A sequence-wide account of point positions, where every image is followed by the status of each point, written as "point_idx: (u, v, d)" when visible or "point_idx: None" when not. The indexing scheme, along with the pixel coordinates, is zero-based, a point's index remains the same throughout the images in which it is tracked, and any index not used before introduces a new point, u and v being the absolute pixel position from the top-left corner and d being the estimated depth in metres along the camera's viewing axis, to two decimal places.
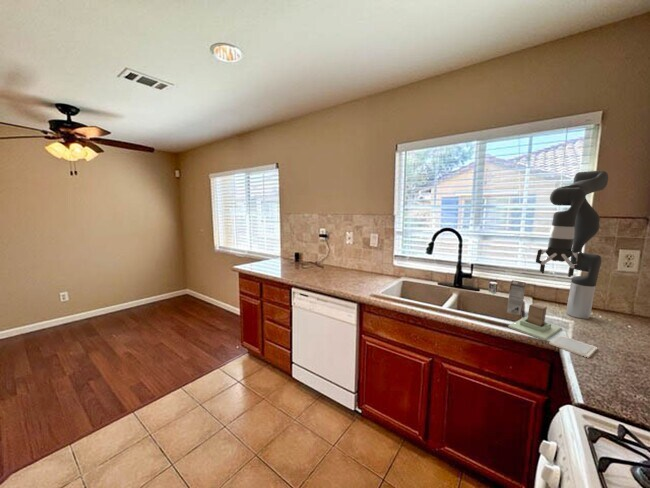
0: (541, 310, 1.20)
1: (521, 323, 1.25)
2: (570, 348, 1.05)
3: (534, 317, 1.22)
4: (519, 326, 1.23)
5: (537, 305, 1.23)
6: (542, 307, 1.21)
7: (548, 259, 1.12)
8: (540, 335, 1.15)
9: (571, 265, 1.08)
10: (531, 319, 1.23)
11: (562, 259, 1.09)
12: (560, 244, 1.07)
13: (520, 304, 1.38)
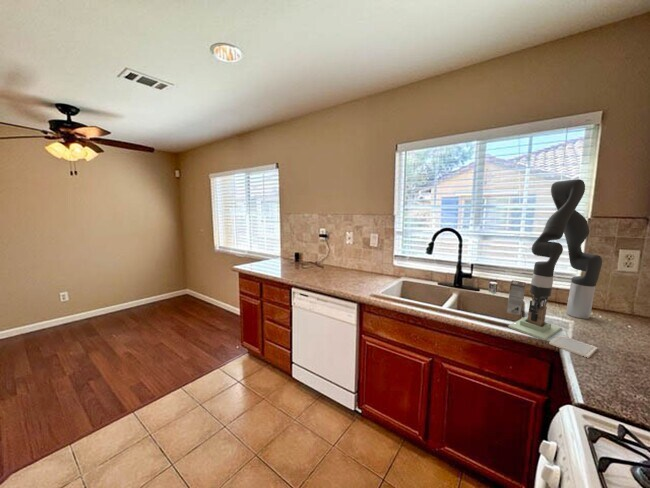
0: (541, 310, 1.20)
1: (521, 323, 1.25)
2: (570, 348, 1.05)
3: None
4: (519, 326, 1.23)
5: None
6: (542, 307, 1.21)
7: (540, 307, 1.20)
8: (540, 335, 1.15)
9: None
10: None
11: (542, 303, 1.22)
12: (550, 292, 1.18)
13: (520, 304, 1.38)
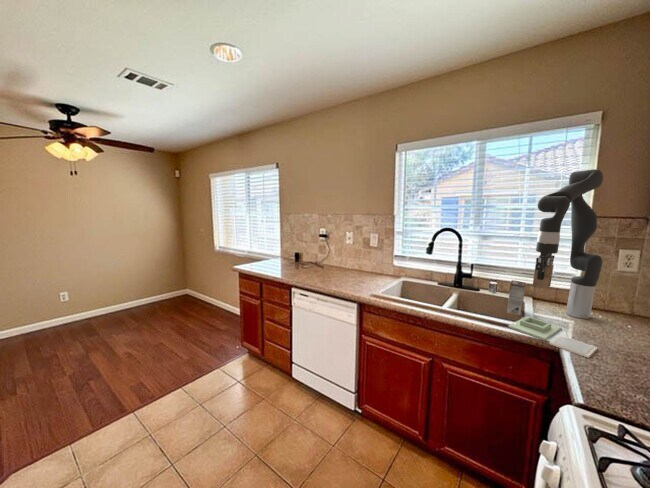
0: (548, 268, 1.16)
1: (521, 323, 1.25)
2: (570, 348, 1.05)
3: None
4: (519, 326, 1.23)
5: None
6: (549, 265, 1.18)
7: (547, 265, 1.17)
8: (540, 335, 1.15)
9: None
10: None
11: None
12: (557, 249, 1.15)
13: (520, 304, 1.38)
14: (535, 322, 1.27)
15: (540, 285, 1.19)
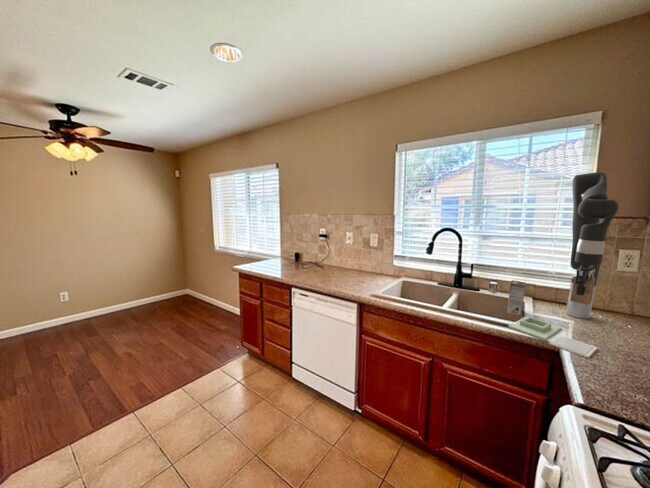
0: (590, 281, 1.01)
1: (521, 323, 1.25)
2: (570, 348, 1.05)
3: None
4: (519, 326, 1.23)
5: None
6: (590, 278, 1.02)
7: (589, 278, 1.01)
8: (540, 335, 1.15)
9: None
10: None
11: None
12: (601, 260, 1.00)
13: (520, 304, 1.38)
14: (535, 322, 1.27)
15: (580, 301, 1.04)
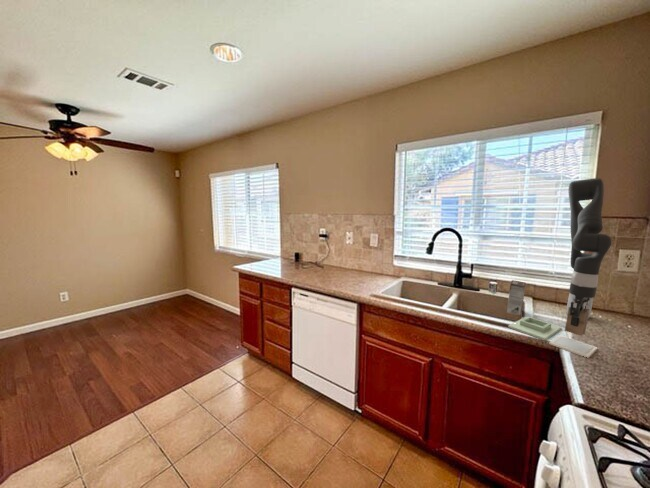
0: (584, 313, 1.03)
1: (521, 323, 1.25)
2: (570, 348, 1.05)
3: None
4: (519, 326, 1.23)
5: None
6: (584, 310, 1.04)
7: (583, 310, 1.03)
8: (540, 335, 1.15)
9: None
10: (570, 323, 1.07)
11: None
12: (595, 293, 1.02)
13: (520, 304, 1.38)
14: (535, 322, 1.27)
15: (574, 332, 1.06)
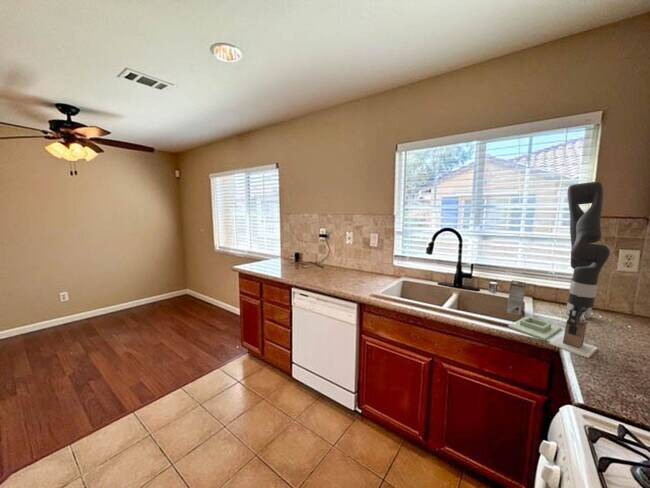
0: (581, 326, 1.04)
1: (521, 323, 1.25)
2: (570, 348, 1.05)
3: None
4: (519, 326, 1.23)
5: None
6: (582, 323, 1.05)
7: (581, 319, 1.04)
8: (540, 335, 1.15)
9: (584, 318, 1.08)
10: (568, 336, 1.08)
11: None
12: (593, 303, 1.02)
13: (520, 304, 1.38)
14: (535, 322, 1.27)
15: (572, 344, 1.07)
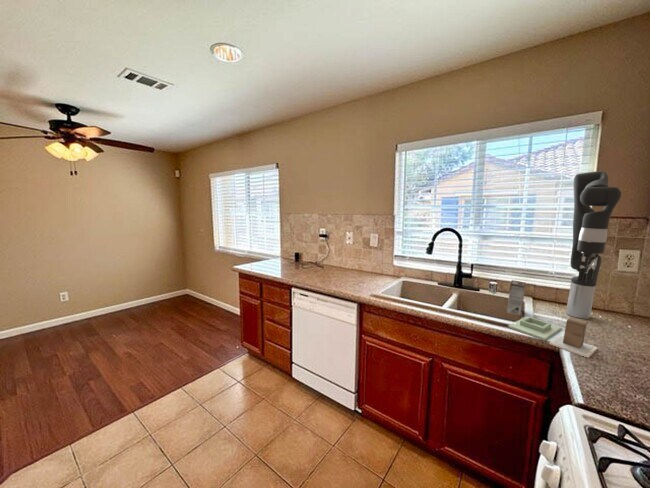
0: (581, 326, 1.04)
1: (521, 323, 1.25)
2: (570, 348, 1.05)
3: (572, 333, 1.07)
4: (519, 326, 1.23)
5: (575, 320, 1.08)
6: (582, 323, 1.05)
7: (591, 266, 1.00)
8: (540, 335, 1.15)
9: (594, 267, 1.05)
10: (568, 336, 1.08)
11: (592, 263, 1.03)
12: (604, 248, 0.99)
13: (520, 304, 1.38)
14: (535, 322, 1.27)
15: (572, 344, 1.07)
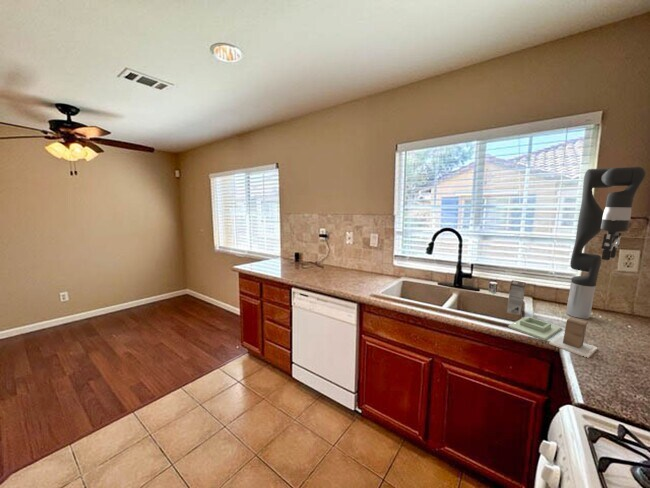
0: (581, 326, 1.04)
1: (521, 323, 1.25)
2: (570, 348, 1.05)
3: (572, 333, 1.07)
4: (519, 326, 1.23)
5: (575, 320, 1.08)
6: (582, 323, 1.05)
7: (615, 244, 1.04)
8: (540, 335, 1.15)
9: (617, 246, 1.09)
10: (568, 336, 1.08)
11: (616, 241, 1.07)
12: (628, 226, 1.03)
13: (520, 304, 1.38)
14: (535, 322, 1.27)
15: (572, 344, 1.07)
